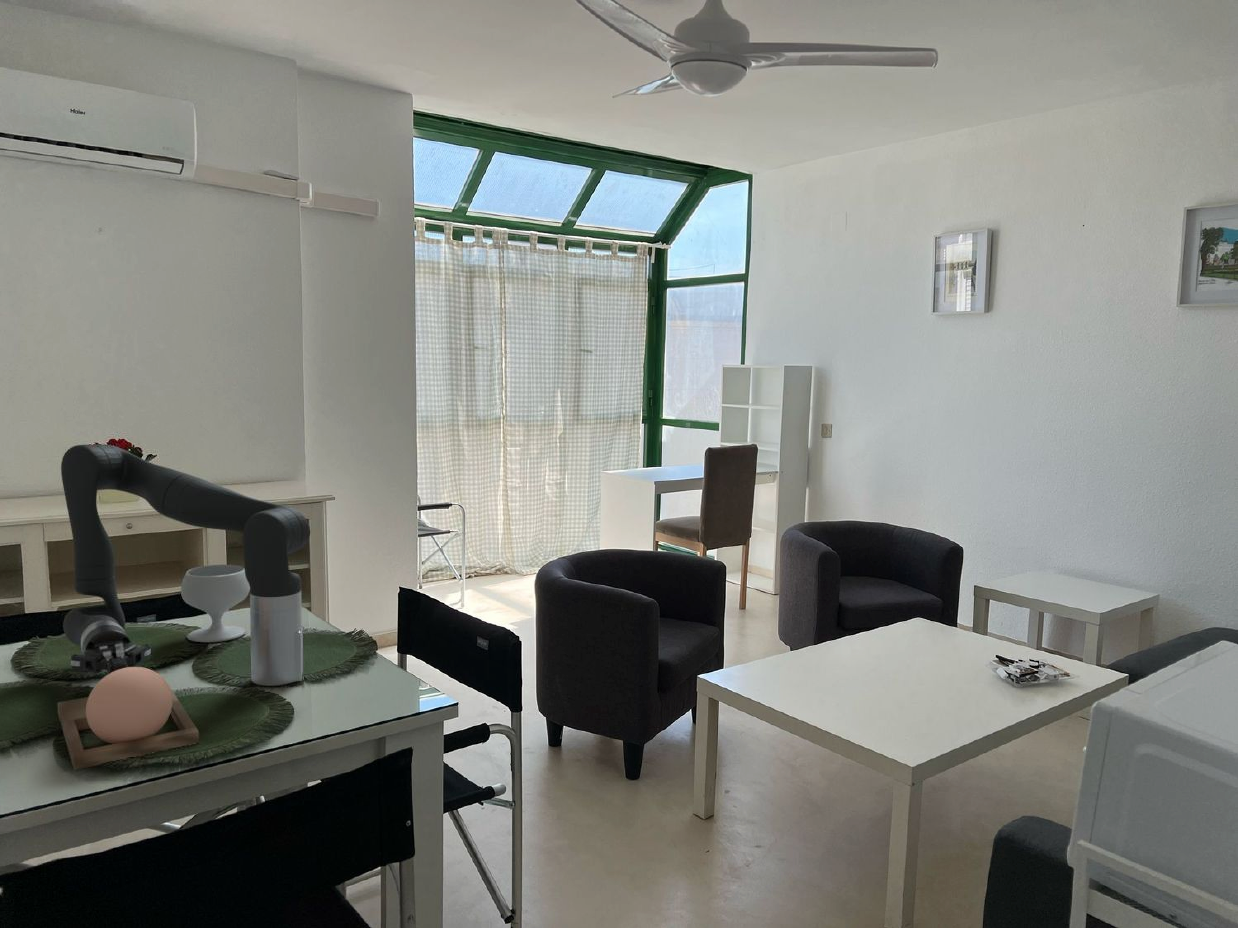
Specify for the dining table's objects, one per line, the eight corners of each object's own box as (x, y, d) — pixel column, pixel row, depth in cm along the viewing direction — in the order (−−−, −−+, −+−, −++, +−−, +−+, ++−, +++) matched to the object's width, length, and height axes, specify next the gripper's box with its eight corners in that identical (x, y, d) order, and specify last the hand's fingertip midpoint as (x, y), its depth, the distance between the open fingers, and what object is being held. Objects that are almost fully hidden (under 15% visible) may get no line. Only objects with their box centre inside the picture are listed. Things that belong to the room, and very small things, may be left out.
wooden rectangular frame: (167, 693, 159) (167, 683, 159) (199, 743, 138) (198, 731, 138) (58, 713, 149) (57, 702, 149) (73, 770, 128) (73, 757, 128)
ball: (183, 656, 141) (190, 731, 138) (146, 671, 147) (152, 743, 144) (106, 663, 131) (111, 744, 128) (69, 679, 137) (73, 756, 134)
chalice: (212, 624, 203) (211, 561, 202) (264, 630, 199) (263, 566, 198) (167, 641, 190) (165, 574, 188) (221, 648, 186) (219, 579, 185)
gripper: (62, 629, 157) (72, 655, 143) (144, 619, 165) (161, 642, 151) (64, 670, 158) (74, 699, 144) (145, 657, 166) (162, 684, 152)
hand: (118, 670), depth 148 cm, fingers closed
